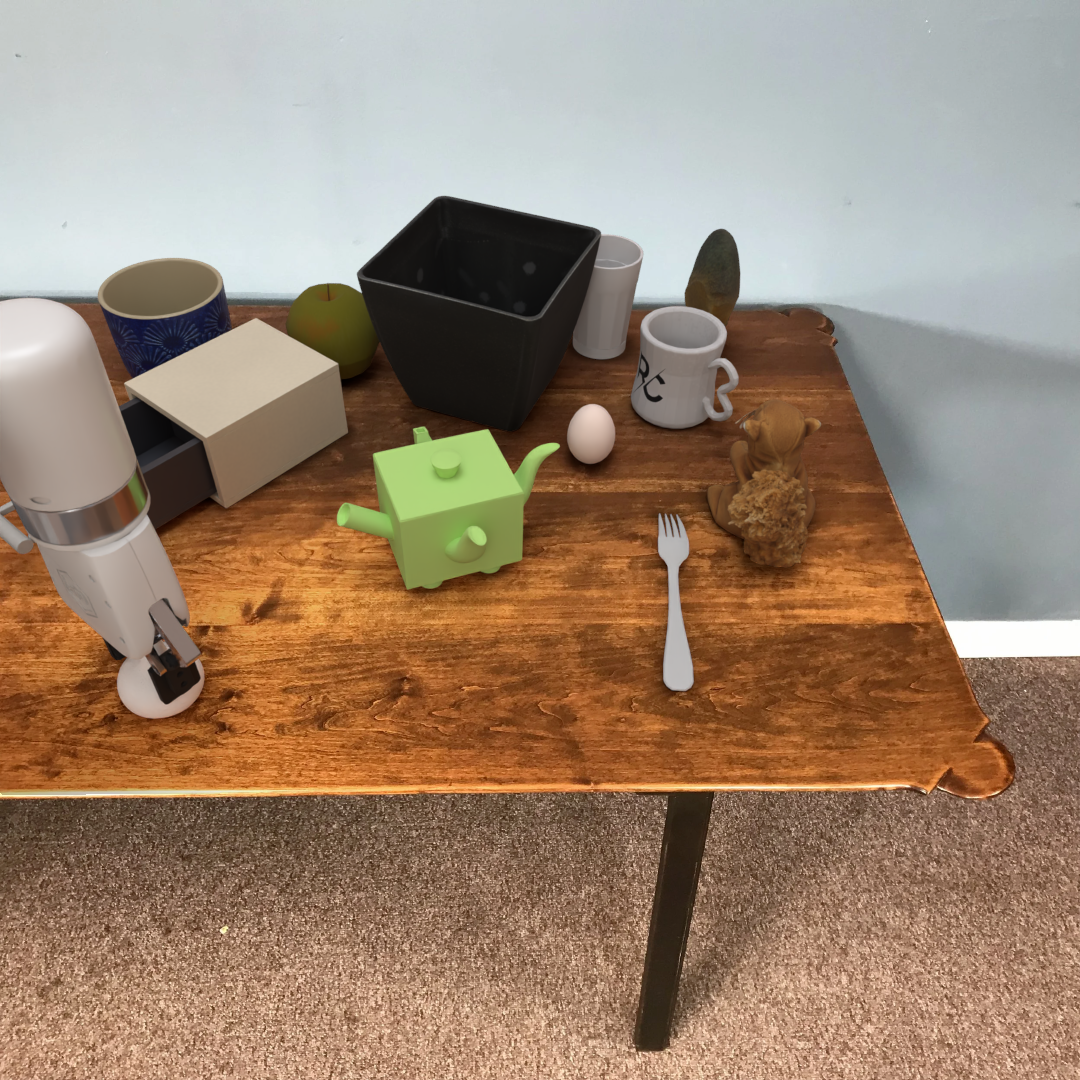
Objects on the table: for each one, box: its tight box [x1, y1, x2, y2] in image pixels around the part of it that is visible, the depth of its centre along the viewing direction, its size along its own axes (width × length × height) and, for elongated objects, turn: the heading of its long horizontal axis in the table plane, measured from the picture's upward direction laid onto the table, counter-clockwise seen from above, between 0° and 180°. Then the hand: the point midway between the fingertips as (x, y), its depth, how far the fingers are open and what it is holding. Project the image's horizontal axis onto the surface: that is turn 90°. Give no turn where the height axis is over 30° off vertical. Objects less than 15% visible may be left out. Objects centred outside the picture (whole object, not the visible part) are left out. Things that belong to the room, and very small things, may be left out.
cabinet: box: [123, 317, 349, 509], centre depth 92 cm, size 16×13×9 cm
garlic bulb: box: [116, 639, 205, 719], centre depth 70 cm, size 6×6×8 cm
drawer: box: [0, 397, 217, 555], centre depth 83 cm, size 20×11×7 cm, turn 141°
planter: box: [97, 257, 233, 379], centre depth 99 cm, size 12×12×11 cm
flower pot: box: [356, 195, 602, 433], centre depth 97 cm, size 19×19×17 cm
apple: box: [284, 282, 380, 380], centre depth 101 cm, size 10×10×11 cm
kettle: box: [336, 426, 561, 591], centre depth 81 cm, size 15×14×11 cm
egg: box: [566, 403, 616, 465], centre depth 92 cm, size 5×5×7 cm
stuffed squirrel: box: [706, 399, 822, 568], centre depth 83 cm, size 10×14×13 cm
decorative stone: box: [684, 228, 741, 327], centre depth 104 cm, size 10×6×15 cm, turn 169°
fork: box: [657, 512, 695, 692], centre depth 81 cm, size 3×21×3 cm, turn 177°
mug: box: [630, 305, 740, 430], centre depth 97 cm, size 12×9×10 cm
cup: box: [572, 233, 644, 360], centre depth 106 cm, size 8×8×12 cm
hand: (156, 667), depth 70 cm, fingers closed on garlic bulb, 5 cm apart
